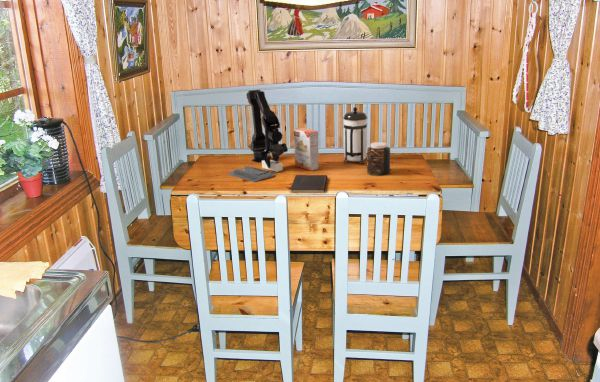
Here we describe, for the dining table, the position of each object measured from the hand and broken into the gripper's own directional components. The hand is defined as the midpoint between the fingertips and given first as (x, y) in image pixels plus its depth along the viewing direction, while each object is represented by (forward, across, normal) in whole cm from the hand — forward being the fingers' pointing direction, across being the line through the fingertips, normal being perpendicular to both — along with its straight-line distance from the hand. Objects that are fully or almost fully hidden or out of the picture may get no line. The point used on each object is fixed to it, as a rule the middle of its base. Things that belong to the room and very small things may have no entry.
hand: (272, 167), depth 298 cm
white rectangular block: (+1, 0, 0) cm, 1 cm away
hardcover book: (+2, -7, -35) cm, 36 cm away
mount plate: (+1, -14, 0) cm, 14 cm away
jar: (+2, +31, -47) cm, 56 cm away
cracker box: (+2, +14, -12) cm, 19 cm away
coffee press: (+2, +39, -25) cm, 46 cm away
